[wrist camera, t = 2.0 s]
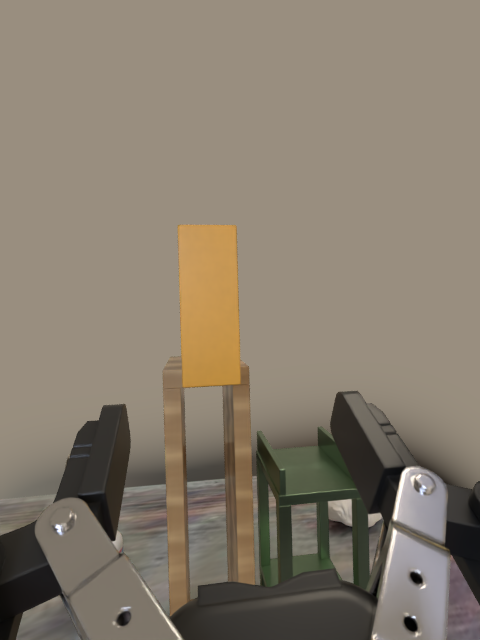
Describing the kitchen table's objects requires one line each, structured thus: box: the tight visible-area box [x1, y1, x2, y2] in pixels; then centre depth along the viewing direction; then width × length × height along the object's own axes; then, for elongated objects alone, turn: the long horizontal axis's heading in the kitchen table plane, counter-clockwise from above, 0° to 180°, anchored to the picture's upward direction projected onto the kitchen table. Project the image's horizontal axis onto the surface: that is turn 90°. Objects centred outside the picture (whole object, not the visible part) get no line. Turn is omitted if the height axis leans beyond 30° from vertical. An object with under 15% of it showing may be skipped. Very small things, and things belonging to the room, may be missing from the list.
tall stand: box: [163, 356, 255, 616], centre depth 40 cm, size 12×8×32 cm, turn 8°
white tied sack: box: [328, 499, 382, 527], centre depth 63 cm, size 12×8×11 cm
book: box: [178, 225, 241, 388], centre depth 35 cm, size 21×4×11 cm, turn 8°
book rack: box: [256, 427, 370, 590], centre depth 41 cm, size 12×9×22 cm
